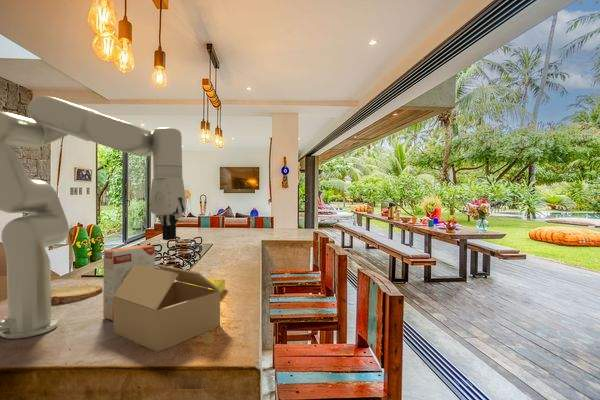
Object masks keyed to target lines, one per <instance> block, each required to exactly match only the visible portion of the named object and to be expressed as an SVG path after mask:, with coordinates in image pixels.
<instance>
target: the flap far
mask: <svg viewBox="0 0 600 400" xmlns="http://www.w3.org/2000/svg"><path fill="white" fill-rule="evenodd" d="M155 267H158V269H160V270H165V271H169V272H174V273H178V276H177V277H176V279H175V280H174V281H178V282H183V283H188V284H192V285H196V286H201V287H205V288H209V289H213V290H218V291H219V288H217V287H216V286H215V285H214V284H212V283H211V282H210V281H209V280H207V279H208V278H206V277H205V276H204V275H203V274H201V273H200V272H198V271H193V270H187V269H183V268H178V267H174V266H169V265H163V264H158V263H156V264H155Z"/></svg>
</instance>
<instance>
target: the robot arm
mask: <svg viewBox="0 0 600 400" xmlns="http://www.w3.org/2000/svg"><path fill="white" fill-rule="evenodd" d="M27 111H28V114H29V117H26V116H23V115H20V114H19V115H18V114H16V113H15V114H14V113H12V112H7V111H0V211H1V212H4V213H7V214H25V213H28V215H26V216H20V217H17V218H13V219H11V220H10V221H9V222H7V223H6V224H5V225H4V227H3V228H2V231H1V237H0V239H1V243H2V246H3V249H4V253H5V261H6V280H7V281H6V285H7V286H6V287H7V288H6V289H7V315H5V316H3V319H2V320H0V336H1V338H4V339H9V340H11V339H16V340H17V339H25V338H29V337H30V338H31V337H35V336H38V335H42V334H45V333H49V332H51V331H52V330H54V329H55V328H57V327H58V325H59V320H58V319H57V318H54V317H52V305H51V290H52V279H51V278H52V277H51V276H52V274H51V269H52V268H51V261H50V258H49V255H48V253H47V250H46V248H48V247H54V246H57V245H58V244H61V243H63V242H64V241H65V240H66V239H67V238H68V235H69V232H70V229H69V223H68V219H67V216H66V214H65V212H64V211H65V210H64V208H63V206H62V203H61V200H60V198H59V196H58V193H57V191H56V189H55V188H54V187H53V186H52V185H51V184H50V183H48V182H47V181H44V180H40V179H30V177H29V176H28V173H27V171H26V169H25V165H24V163H23V160H22V159H21V157H20V156H19V155H18V154H17V153H16V152H15V151H14V150H13V148H12V147H11V146H16V147H22V148H26V149H27V148H28V149H36V148H37V149H38V148H41V147H45V146H46V145H49V144H51V143H53V142H56V141H58V140H60V139H62V138H65V137H67V136H73V137H75V138H78V139H81V140H84V141H86V142H93V143H96V144H98V145H102V146H104V147H107V148H111V149H113V150H117V151H119V152H123V153H126V154H131V155H135V156H139V157H151V156H152V165H153V166H152V167H153V168H152V170H153V171H152V172H153V175H152V176H153V177H152V181H151V187H150V200H149V204H150V207H149V208H150V210H149V211H150V213H152V215H155V218H157V219H159V220H160V225H161V226H162V227H161V229H162V230H161V231H162V240H163V241H171V240H176V239H177V225H178V221H179V220H181V219H183V218H184V215H183V214H184V213H185V211H186V191H185V184H184V179H183V178H184V177H183V150H182V149H183V146H182V145H183V144H182V143H183V141H182V139H183V138H182V133H181V131H180V130H179V129H177V128H173V127H157V128H155V129H154V130H149V129H145V128H142V127H140V126H138V125H135V124H133V123H130V122H127V121H124V120H120V119H117V118H116V117H111V116H109V115H105V114H102V113H101V112H99V111H97V110H93V109H90V108H87V107H84V106H82V105H78V104H75V103H72V102H70V101H67V100H64V99H60V98H57V97H54V96H50V95H38V96H36V97H34V98H33V99H31V101H30V102H29V103H28V106H27Z"/></svg>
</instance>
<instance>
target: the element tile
mask: <svg viewBox="0 0 600 400" xmlns="http://www.w3.org/2000/svg"><path fill="white" fill-rule="evenodd" d="M206 279H207V280H209V281H210V282H211V283H212V284H214V285H215V286H216V287H217V288H219V291H220V297H221V296H222V295H223V293H224V292H225V290H226V280H225V278H206ZM187 284H188V283H187ZM191 285H192V284H191ZM195 286H196V285H195ZM200 287H201V286H200ZM204 288H205V287H204ZM208 289H209V288H208ZM212 290H213V289H212ZM216 291H218V290H216Z"/></svg>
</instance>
